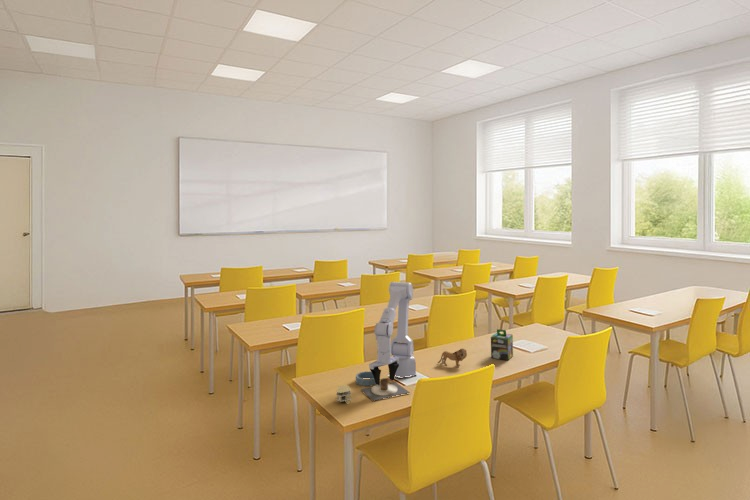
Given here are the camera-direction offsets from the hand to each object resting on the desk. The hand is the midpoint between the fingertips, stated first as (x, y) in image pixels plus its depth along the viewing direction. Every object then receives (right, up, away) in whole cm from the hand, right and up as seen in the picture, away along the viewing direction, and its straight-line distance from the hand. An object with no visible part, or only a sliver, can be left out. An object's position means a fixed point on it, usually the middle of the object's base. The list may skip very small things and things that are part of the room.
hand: (384, 381), depth 194 cm
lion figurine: (+35, -1, +32) cm, 47 cm away
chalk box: (+62, 0, +43) cm, 75 cm away
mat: (0, -5, 0) cm, 4 cm away
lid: (0, -4, +1) cm, 4 cm away
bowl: (-8, -4, +12) cm, 15 cm away
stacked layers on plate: (-17, -6, -8) cm, 20 cm away
